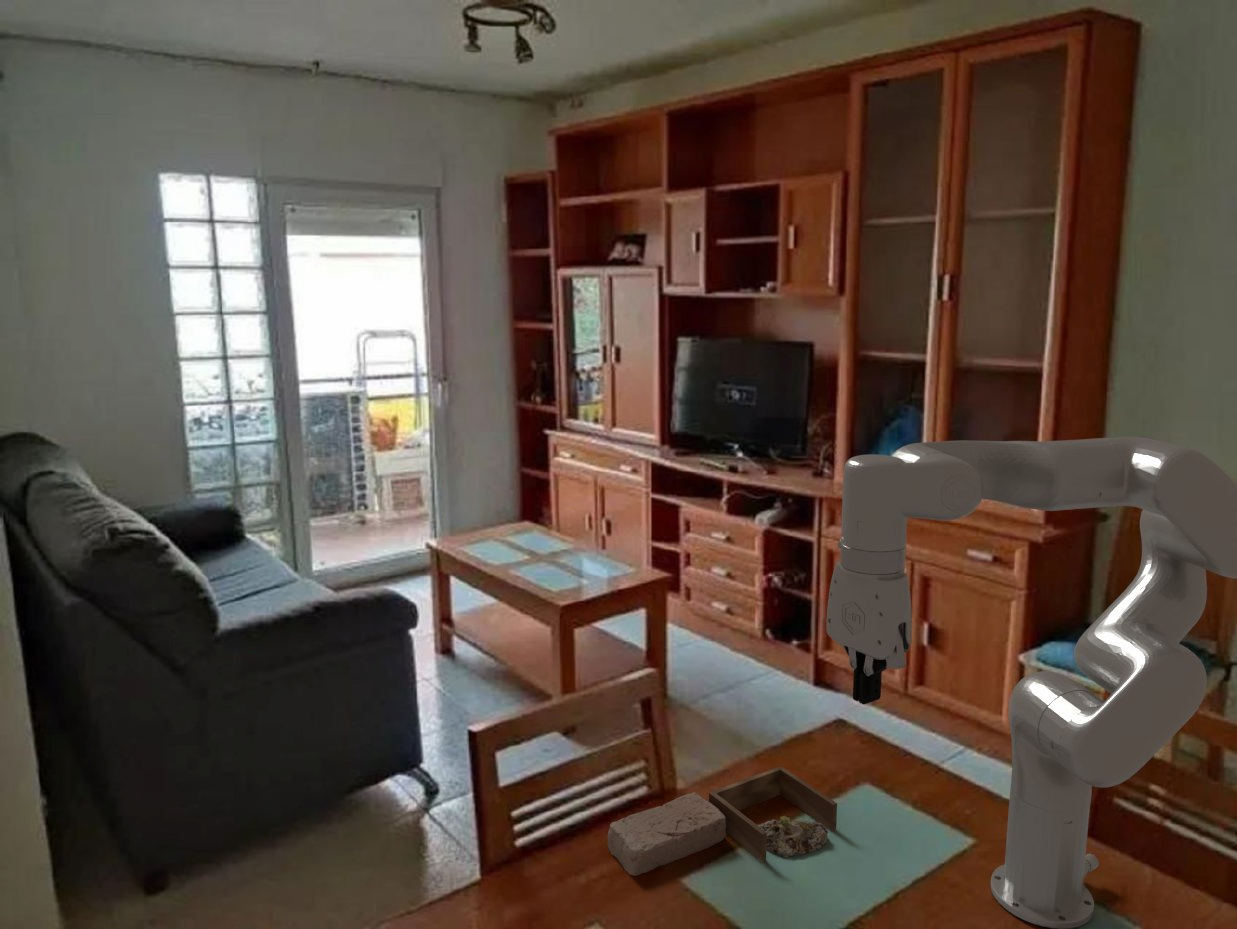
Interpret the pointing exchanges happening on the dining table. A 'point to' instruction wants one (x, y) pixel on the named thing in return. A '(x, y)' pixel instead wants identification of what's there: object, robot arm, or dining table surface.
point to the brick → (665, 833)
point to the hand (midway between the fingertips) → (866, 699)
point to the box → (764, 789)
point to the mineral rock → (793, 836)
